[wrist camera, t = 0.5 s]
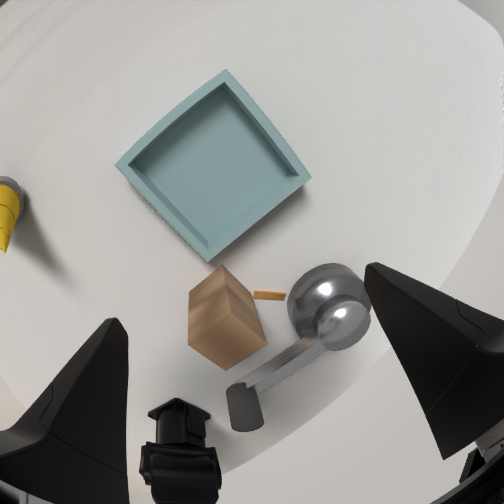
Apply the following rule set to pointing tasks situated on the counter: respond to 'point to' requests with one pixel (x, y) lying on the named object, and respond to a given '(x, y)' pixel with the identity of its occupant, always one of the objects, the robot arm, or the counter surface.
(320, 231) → the counter surface
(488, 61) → the counter surface
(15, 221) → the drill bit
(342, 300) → the crank
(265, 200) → the tray
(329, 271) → the crank base
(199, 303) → the block
